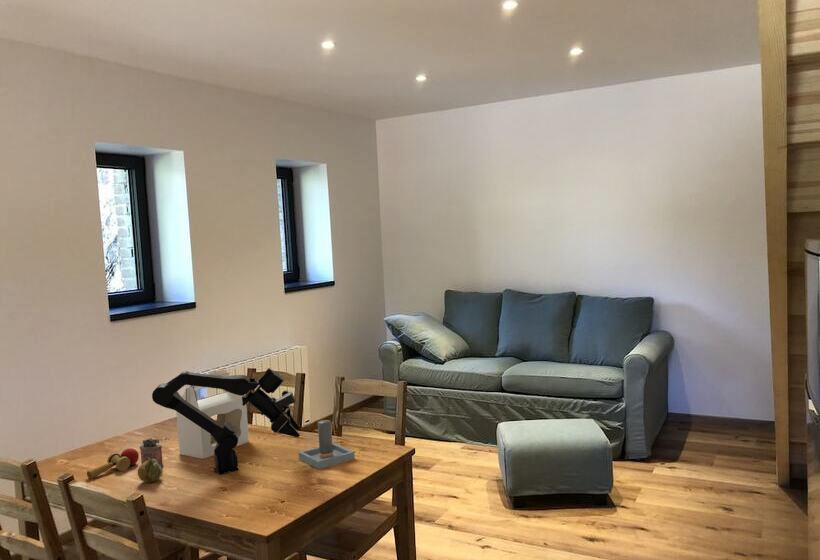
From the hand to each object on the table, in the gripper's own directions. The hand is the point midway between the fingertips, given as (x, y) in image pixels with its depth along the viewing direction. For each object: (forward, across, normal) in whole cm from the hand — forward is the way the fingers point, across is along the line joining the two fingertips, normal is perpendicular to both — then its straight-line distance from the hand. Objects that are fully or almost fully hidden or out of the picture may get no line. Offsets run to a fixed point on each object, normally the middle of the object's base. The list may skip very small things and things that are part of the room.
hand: (299, 432), depth 228 cm
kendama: (-37, +12, +53) cm, 65 cm away
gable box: (-15, +26, +30) cm, 43 cm away
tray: (+13, 0, +1) cm, 13 cm away
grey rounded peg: (+13, 0, 0) cm, 13 cm away
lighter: (-28, +11, +44) cm, 53 cm away
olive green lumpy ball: (-26, -3, +42) cm, 49 cm away
